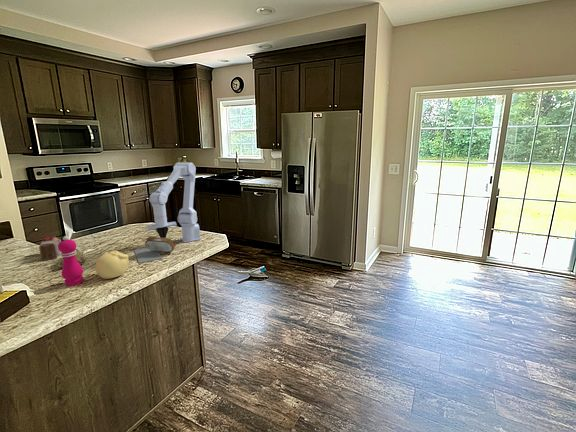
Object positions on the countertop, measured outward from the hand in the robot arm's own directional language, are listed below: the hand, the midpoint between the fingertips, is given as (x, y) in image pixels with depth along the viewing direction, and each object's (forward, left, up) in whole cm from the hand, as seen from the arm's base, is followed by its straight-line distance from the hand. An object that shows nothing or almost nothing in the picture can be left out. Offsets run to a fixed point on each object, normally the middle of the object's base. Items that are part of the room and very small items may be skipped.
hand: (163, 241), depth 156 cm
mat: (+8, 0, -5) cm, 10 cm away
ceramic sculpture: (+39, -8, -6) cm, 40 cm away
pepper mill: (+38, +17, -6) cm, 42 cm away
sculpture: (+24, +18, -6) cm, 31 cm away
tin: (+1, 0, -5) cm, 5 cm away
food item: (+49, -26, -6) cm, 56 cm away
